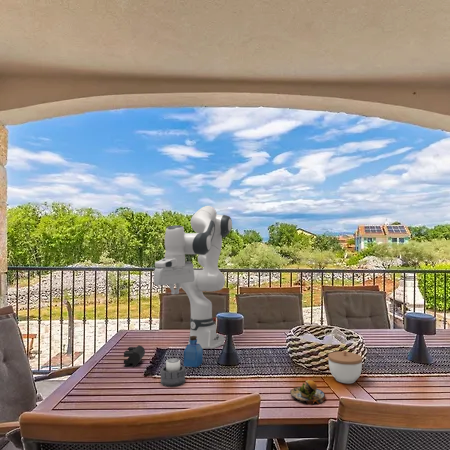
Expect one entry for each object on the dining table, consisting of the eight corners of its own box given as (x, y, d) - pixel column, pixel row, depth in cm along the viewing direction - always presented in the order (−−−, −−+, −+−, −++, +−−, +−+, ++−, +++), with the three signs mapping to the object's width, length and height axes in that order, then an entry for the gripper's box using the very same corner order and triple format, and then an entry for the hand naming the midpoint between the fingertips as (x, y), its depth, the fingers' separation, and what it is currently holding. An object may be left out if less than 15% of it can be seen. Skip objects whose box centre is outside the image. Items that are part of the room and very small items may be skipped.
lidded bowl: (325, 374, 150) (324, 346, 150) (356, 374, 149) (356, 346, 150) (333, 386, 137) (332, 356, 138) (367, 386, 137) (366, 356, 137)
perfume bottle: (183, 365, 161) (183, 337, 162) (189, 361, 167) (189, 334, 167) (196, 367, 159) (196, 339, 160) (202, 363, 165) (202, 335, 165)
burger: (292, 389, 135) (291, 368, 135) (325, 393, 132) (325, 372, 132) (288, 403, 123) (287, 380, 124) (324, 407, 120) (324, 384, 120)
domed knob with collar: (174, 375, 149) (174, 363, 149) (189, 381, 142) (189, 368, 143) (155, 382, 142) (155, 368, 142) (170, 388, 136) (170, 374, 136)
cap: (174, 370, 146) (174, 356, 147) (183, 373, 143) (183, 359, 143) (163, 374, 142) (163, 360, 143) (171, 377, 139) (171, 363, 139)
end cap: (139, 367, 160) (139, 351, 160) (123, 367, 160) (123, 351, 160) (145, 360, 170) (145, 345, 170) (129, 360, 170) (129, 345, 170)
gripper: (188, 261, 172) (188, 291, 172) (151, 263, 158) (151, 295, 157) (197, 261, 168) (197, 292, 167) (160, 263, 153) (160, 297, 153)
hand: (175, 294), depth 162 cm, fingers closed
